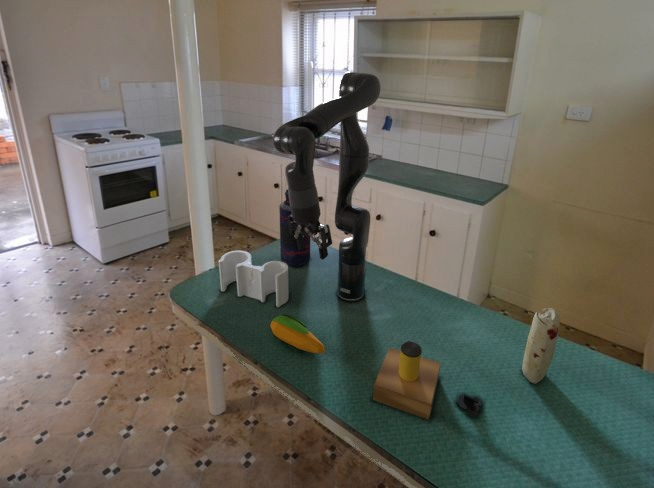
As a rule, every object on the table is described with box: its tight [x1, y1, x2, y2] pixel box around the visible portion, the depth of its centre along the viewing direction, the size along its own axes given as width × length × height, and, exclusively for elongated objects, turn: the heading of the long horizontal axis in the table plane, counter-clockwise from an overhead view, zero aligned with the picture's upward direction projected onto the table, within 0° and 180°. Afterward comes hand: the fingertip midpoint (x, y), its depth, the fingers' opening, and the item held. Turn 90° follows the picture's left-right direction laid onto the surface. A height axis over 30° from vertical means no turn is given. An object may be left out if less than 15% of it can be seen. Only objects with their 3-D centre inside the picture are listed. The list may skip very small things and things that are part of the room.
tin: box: [399, 341, 422, 381], centre depth 101 cm, size 5×5×8 cm
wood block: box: [372, 346, 442, 420], centre depth 104 cm, size 14×14×5 cm
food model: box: [521, 307, 561, 384], centre depth 107 cm, size 10×7×20 cm
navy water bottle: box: [278, 188, 311, 268], centre depth 158 cm, size 14×12×30 cm
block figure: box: [456, 394, 482, 418], centre depth 100 cm, size 6×2×6 cm
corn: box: [269, 314, 326, 354], centre depth 117 cm, size 7×8×20 cm
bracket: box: [218, 249, 290, 308], centre depth 140 cm, size 25×10×12 cm, turn 67°
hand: (312, 253), depth 112 cm, fingers open, 8 cm apart
